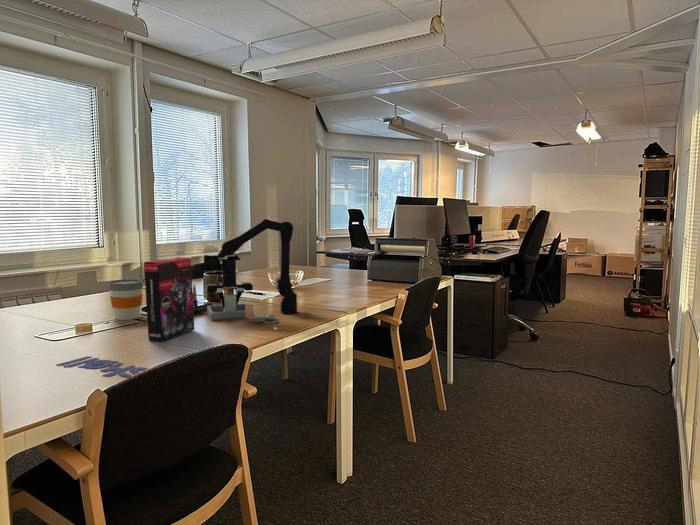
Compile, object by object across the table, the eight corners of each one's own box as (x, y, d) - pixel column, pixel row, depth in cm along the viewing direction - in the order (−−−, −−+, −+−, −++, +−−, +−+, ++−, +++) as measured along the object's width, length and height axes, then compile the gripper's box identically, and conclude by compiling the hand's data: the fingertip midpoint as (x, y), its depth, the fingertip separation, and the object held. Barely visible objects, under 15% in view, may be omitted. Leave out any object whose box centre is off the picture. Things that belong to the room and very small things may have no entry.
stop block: (234, 310, 206) (234, 294, 205) (235, 312, 202) (236, 295, 201) (223, 310, 204) (224, 294, 203) (224, 312, 200) (225, 295, 199)
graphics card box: (161, 342, 161) (159, 262, 158) (145, 340, 164) (142, 261, 161) (195, 330, 177) (193, 257, 174) (179, 329, 179) (177, 256, 176)
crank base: (275, 319, 196) (275, 317, 196) (286, 329, 181) (286, 327, 181) (258, 320, 193) (258, 319, 193) (267, 330, 178) (267, 328, 178)
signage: (156, 369, 134) (125, 380, 125) (156, 371, 134) (125, 382, 125) (88, 354, 146) (56, 364, 137) (88, 357, 146) (56, 366, 137)
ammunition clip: (176, 315, 202) (175, 287, 201) (173, 314, 203) (173, 286, 202) (198, 311, 211) (197, 284, 209) (195, 310, 212) (194, 283, 210)
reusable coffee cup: (149, 317, 197) (148, 281, 195) (117, 322, 188) (116, 285, 186) (136, 313, 205) (134, 278, 204) (105, 317, 196) (103, 281, 195)
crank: (273, 318, 194) (273, 302, 193) (275, 320, 190) (275, 304, 189) (244, 320, 190) (244, 304, 189) (246, 322, 186) (246, 306, 185)
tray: (246, 310, 214) (246, 303, 213) (253, 317, 199) (253, 310, 199) (207, 312, 207) (207, 305, 207) (211, 320, 193) (211, 313, 192)
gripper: (248, 267, 212) (248, 302, 214) (204, 269, 205) (205, 305, 207) (252, 270, 202) (253, 307, 203) (206, 272, 195) (207, 310, 197)
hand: (229, 307), depth 203 cm, fingers closed on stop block, 4 cm apart
